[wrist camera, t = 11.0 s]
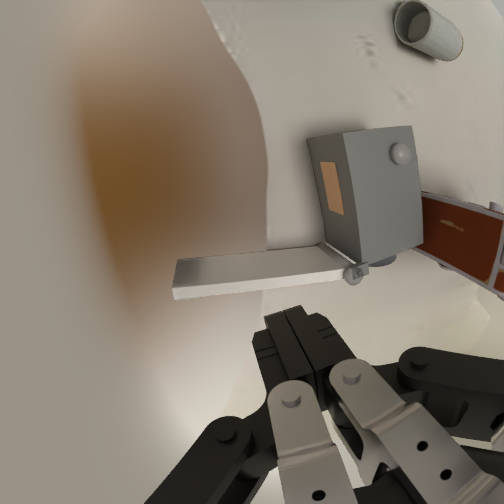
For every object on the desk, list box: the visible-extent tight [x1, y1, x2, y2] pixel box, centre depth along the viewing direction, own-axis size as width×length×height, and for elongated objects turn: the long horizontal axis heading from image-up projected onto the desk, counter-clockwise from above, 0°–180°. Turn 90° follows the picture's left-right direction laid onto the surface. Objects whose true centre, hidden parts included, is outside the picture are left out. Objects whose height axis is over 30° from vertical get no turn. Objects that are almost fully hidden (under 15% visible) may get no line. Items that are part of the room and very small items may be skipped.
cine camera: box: [411, 191, 504, 301], centre depth 25 cm, size 9×19×20 cm, turn 85°
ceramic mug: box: [394, 0, 463, 61], centre depth 21 cm, size 11×8×8 cm
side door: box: [172, 243, 353, 300], centre depth 27 cm, size 17×2×7 cm, turn 92°
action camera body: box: [307, 126, 423, 285], centre depth 26 cm, size 14×10×9 cm
